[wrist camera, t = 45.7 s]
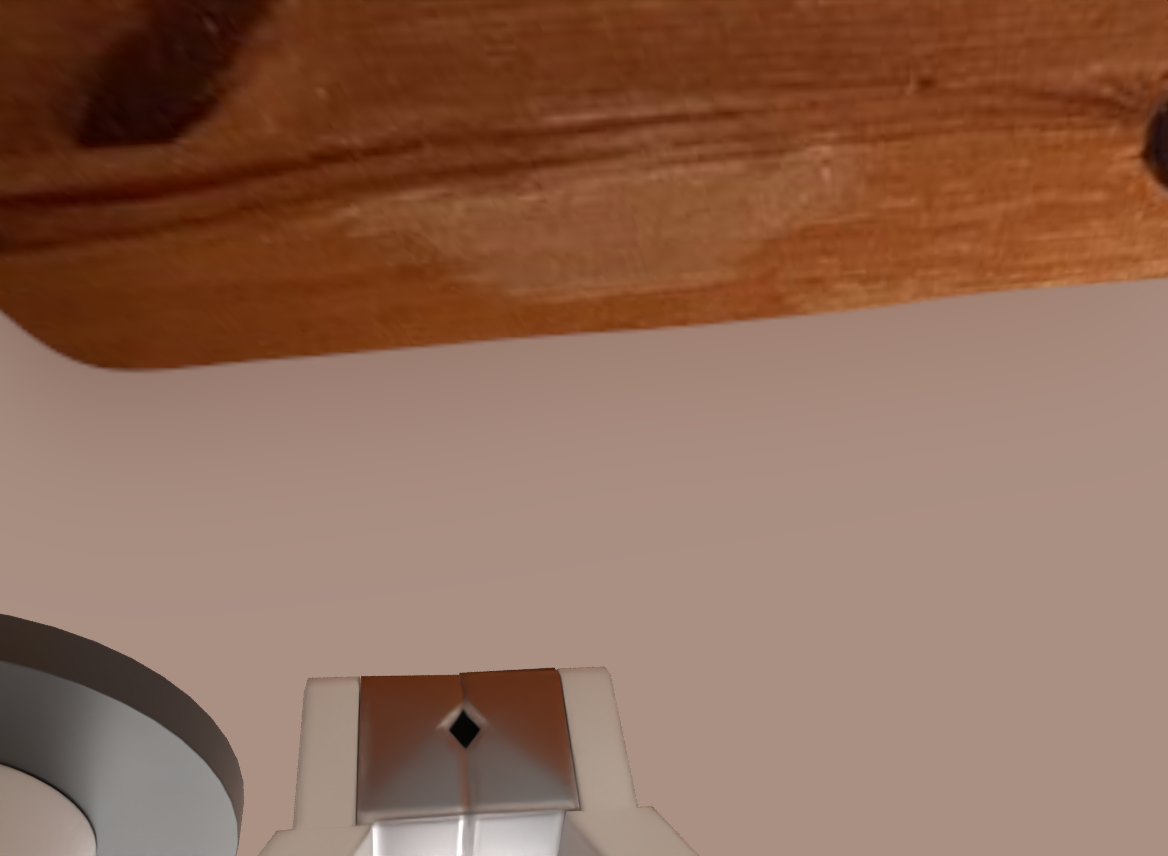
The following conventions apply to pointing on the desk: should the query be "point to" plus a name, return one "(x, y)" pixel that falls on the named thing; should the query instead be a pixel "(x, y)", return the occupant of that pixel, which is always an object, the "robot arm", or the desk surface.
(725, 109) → the desk surface
